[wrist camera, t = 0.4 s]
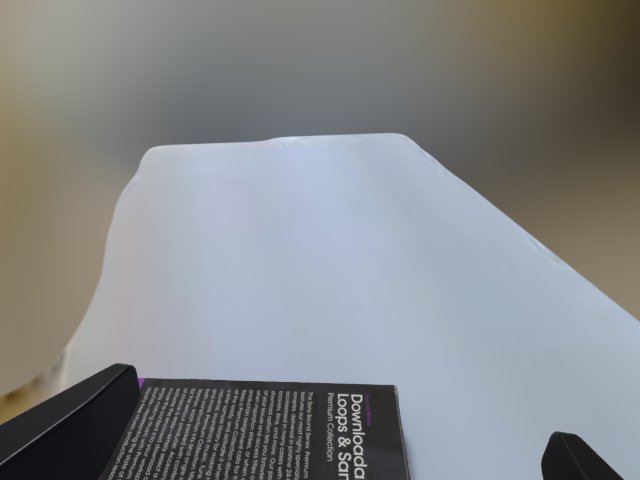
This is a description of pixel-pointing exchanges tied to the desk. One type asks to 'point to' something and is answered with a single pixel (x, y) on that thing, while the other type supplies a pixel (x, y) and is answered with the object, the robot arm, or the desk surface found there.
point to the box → (261, 432)
